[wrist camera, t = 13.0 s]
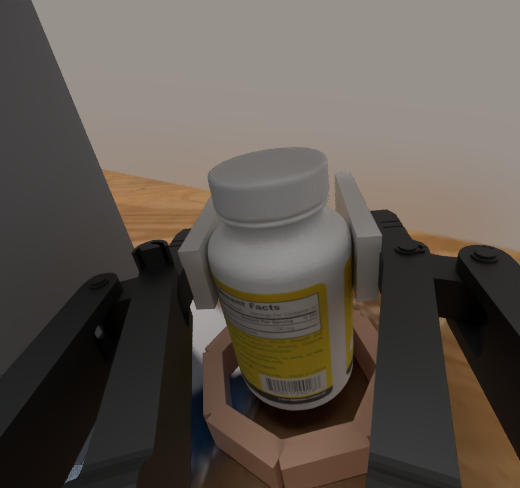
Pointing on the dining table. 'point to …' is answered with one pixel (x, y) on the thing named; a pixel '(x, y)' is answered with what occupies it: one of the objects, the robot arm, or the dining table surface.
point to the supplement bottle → (283, 275)
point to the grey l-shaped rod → (47, 192)
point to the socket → (298, 447)
